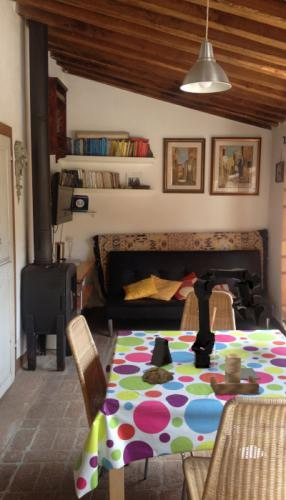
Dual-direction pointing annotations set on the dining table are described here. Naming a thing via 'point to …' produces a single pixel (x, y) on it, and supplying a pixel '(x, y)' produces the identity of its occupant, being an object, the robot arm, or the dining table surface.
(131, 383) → the dining table surface
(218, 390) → the nook
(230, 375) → the maple block
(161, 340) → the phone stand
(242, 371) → the mat
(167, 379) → the bread roll
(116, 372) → the dining table surface
